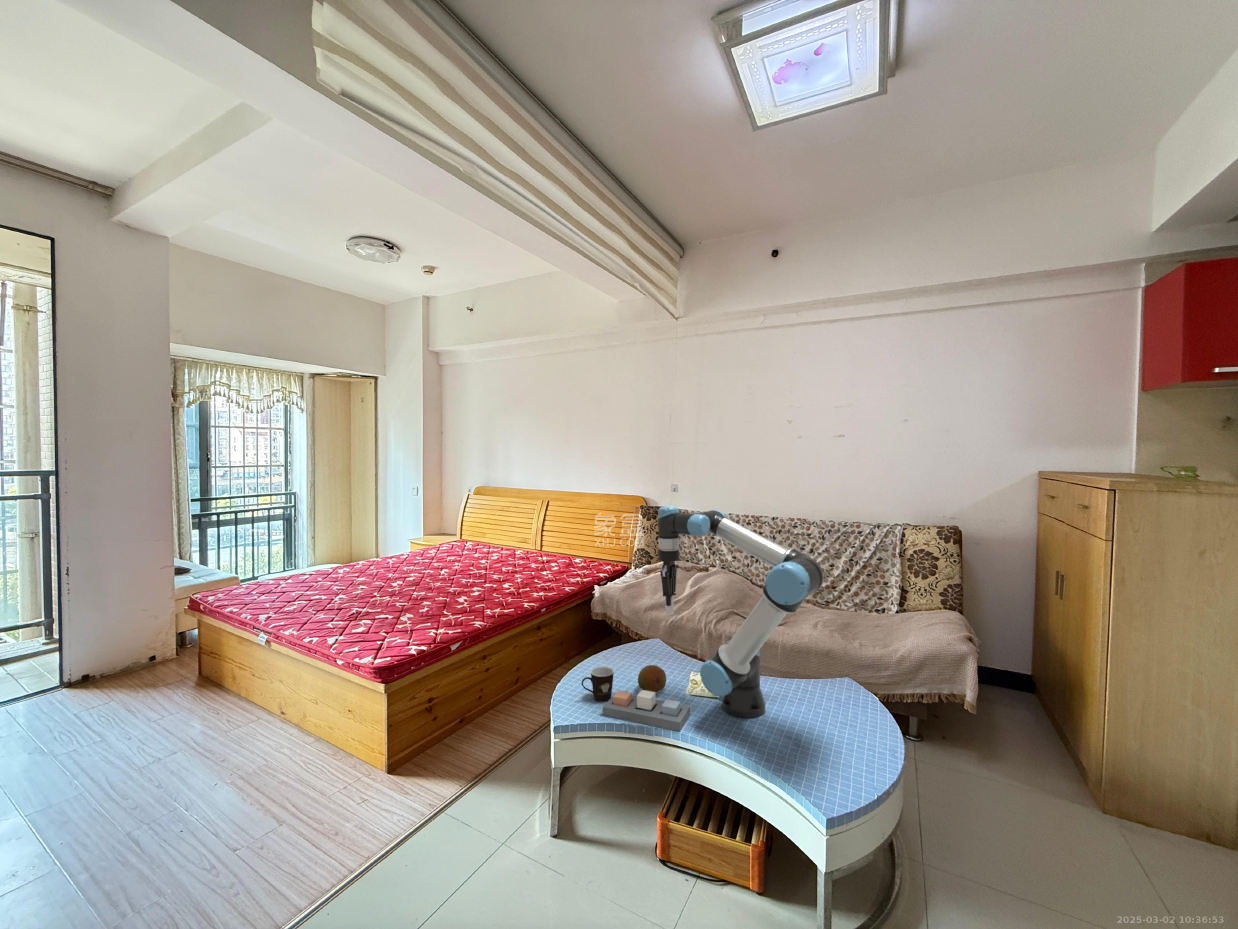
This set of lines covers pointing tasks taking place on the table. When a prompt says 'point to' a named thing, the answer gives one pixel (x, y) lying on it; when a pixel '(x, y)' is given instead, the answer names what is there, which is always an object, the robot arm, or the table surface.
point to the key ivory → (646, 700)
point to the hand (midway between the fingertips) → (669, 613)
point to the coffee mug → (601, 683)
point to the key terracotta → (622, 698)
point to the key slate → (671, 708)
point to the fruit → (652, 678)
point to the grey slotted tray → (647, 714)
